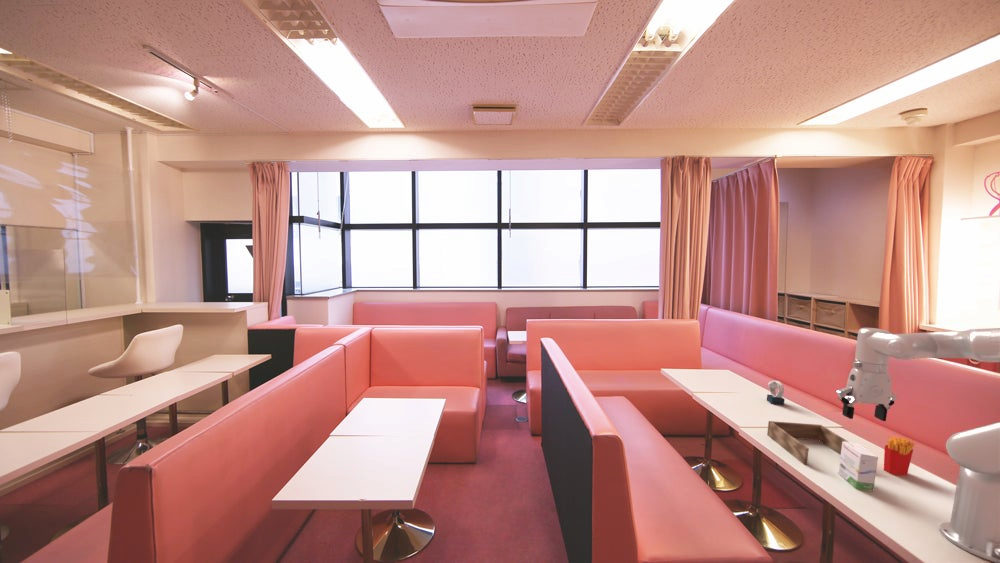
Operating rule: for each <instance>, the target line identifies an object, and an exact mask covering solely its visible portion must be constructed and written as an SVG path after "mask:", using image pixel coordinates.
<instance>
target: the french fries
mask: <svg viewBox="0 0 1000 563" xmlns="http://www.w3.org/2000/svg"><path fill="white" fill-rule="evenodd" d="M914 446H915V442H914V441H911V440H910V439H908V438H905V437H899V436H893V437H888V439H887V444H885V445H884V454H883V455H884V456H883V457H884V458H883V471H884V472H886V473H888V474H891V475H894V476H908V473H909V470H910V469H909V468H910V464H911V461H912V460H911V459H912V457H913V452H914V449H913V448H914Z"/></svg>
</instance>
